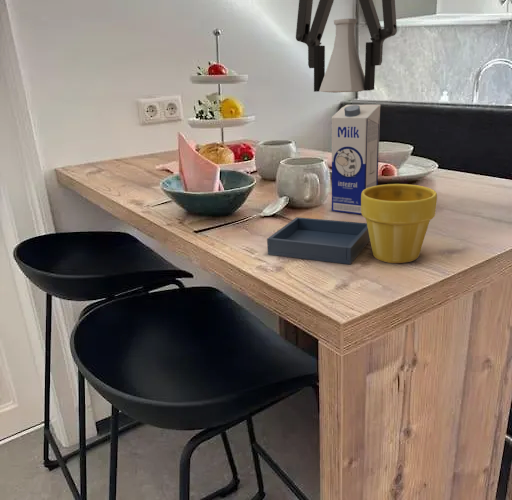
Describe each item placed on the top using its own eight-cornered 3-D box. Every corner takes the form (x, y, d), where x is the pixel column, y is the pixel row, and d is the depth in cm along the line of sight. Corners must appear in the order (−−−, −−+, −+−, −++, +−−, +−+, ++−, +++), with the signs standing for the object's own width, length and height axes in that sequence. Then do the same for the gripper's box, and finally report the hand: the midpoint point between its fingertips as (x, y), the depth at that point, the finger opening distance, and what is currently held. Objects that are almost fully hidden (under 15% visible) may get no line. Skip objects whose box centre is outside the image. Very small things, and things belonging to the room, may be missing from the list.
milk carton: (377, 206, 100) (381, 103, 93) (364, 215, 95) (367, 106, 88) (345, 203, 104) (346, 103, 97) (330, 211, 99) (330, 106, 92)
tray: (371, 238, 82) (371, 223, 81) (350, 264, 72) (350, 247, 71) (296, 231, 88) (296, 217, 87) (267, 254, 78) (266, 238, 77)
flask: (354, 93, 71) (356, 15, 67) (310, 93, 75) (310, 20, 72) (376, 90, 76) (379, 18, 73) (334, 90, 80) (335, 22, 77)
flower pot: (400, 274, 68) (404, 204, 64) (345, 255, 76) (346, 192, 72) (446, 256, 73) (452, 190, 70) (390, 239, 81) (393, 180, 78)
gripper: (428, -94, 66) (416, 87, 74) (290, -70, 75) (292, 90, 83) (418, -109, 60) (406, 90, 68) (268, -81, 69) (273, 93, 77)
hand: (343, 90), depth 75 cm, fingers closed on flask, 7 cm apart
